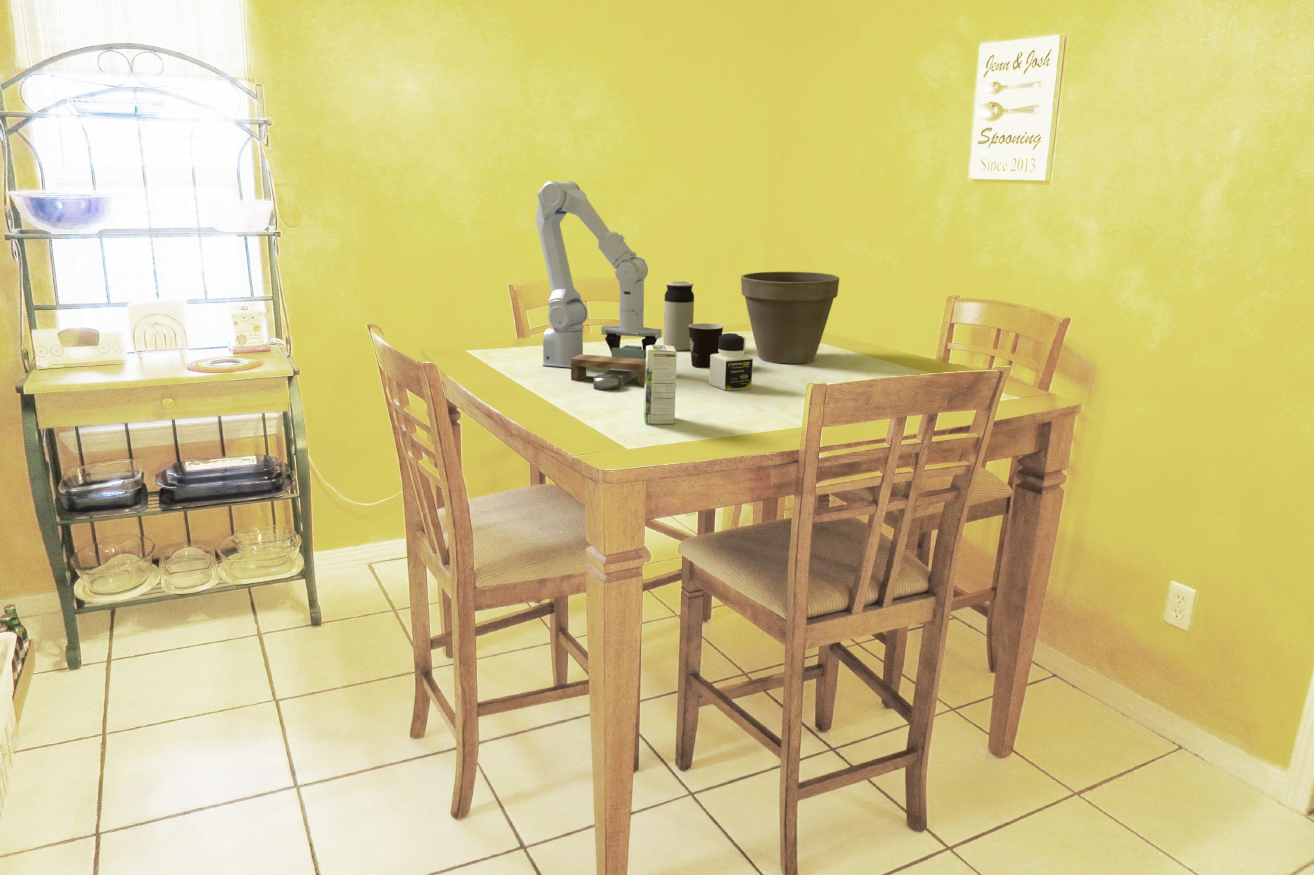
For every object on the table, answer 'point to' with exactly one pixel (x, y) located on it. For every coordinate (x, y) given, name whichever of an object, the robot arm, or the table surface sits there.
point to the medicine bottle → (731, 364)
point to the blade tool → (626, 353)
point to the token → (606, 382)
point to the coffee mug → (704, 343)
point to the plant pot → (788, 312)
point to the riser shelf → (606, 365)
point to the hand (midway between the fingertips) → (631, 365)
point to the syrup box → (660, 384)
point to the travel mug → (678, 314)
